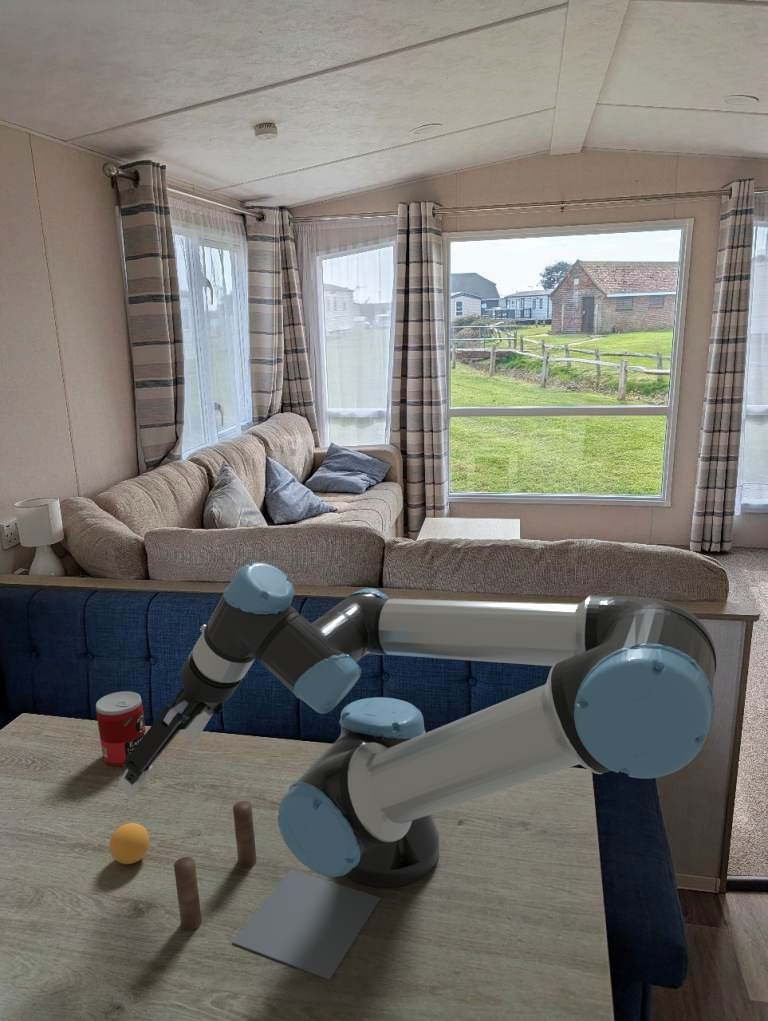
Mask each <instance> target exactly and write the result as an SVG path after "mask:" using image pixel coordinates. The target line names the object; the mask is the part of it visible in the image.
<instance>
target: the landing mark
mask: <svg viewBox="0 0 768 1021" xmlns="http://www.w3.org/2000/svg"><path fill="white" fill-rule="evenodd" d="M380 900H381V896H378V895H377V896H376V895H374V894H370V893H368V892H364V891H362V890H357V889H355V888H351V887H348V886H345V885H342V884H339V883H335V882H333V881H329V880H325V879H323V878H319V877H318V876H317V877H316V876H314V875H310V874H308V873H304V872H301V871H297V870H296V869H295V870H294V869H290V870H289V872H288V873H287V874H286V875H285V876H284V877H283V879H282V880H281V881H280V882H279V884H278V885H277V886H276V887H275V888H274V889H273V891H272V892H271V893H270V895H269V896H268V898H266V900H265V901H264V902H263V903H262V905H261V906H260V907H259V908H258V910H256V912H255V913H254V915H253V916H252V917H251V918H250V919H249V920H248V922H247V923H246V924H245V925H244V927H243V928H242V929H241V930H240V932H239V933H238V934H237V936H236V937H235V938H234V939H233V941H232V942H231V943H232V944H233V945H235V946H238V947H241V948H244V949H247V950H248V951H249V950H250V951H252V952H254V953H257V954H259V955H262V956H264V957H268V958H270V959H273V960H275V961H278V962H281V963H283V964H286V965H288V966H291V967H294V968H296V969H299V970H302V971H304V972H307V973H310V974H312V975H315V976H317V977H321V978H323V979H326V980H329V981H330V980H331V979H332V978H333V976H334V974H335V973H336V971H337V969H338V968H339V966H340V964H341V963H342V961H343V959H344V958H345V956H346V955H347V953H348V951H349V949H350V948H351V946H352V944H353V943H354V942H355V940H356V939H357V937H358V936H359V934H360V932H361V930H362V929H363V927H364V925H365V924H366V922H367V921H368V919H369V917H370V916H371V914H372V913H373V911H374V909H375V908H376V906H377V904H378V903H379V902H380Z"/></svg>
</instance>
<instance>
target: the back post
mask: <svg viewBox="0 0 768 1021" xmlns="http://www.w3.org/2000/svg"><path fill="white" fill-rule="evenodd" d="M232 806H233V807H232V811H233V823H234V831H235V833H234V834H235V842H236V843H235V844H236V851H237V852H236V853H237V862H238V865H239V866H240V867H243V868H247V867H251V866H253V865H255V864H256V862H257V851H256V850H257V849H256V840H255V830H254V829H255V828H254V819H253V807H252V803H251V802H250V801H247V800H241V801H238V802H236V803H235V804H234V805H232Z"/></svg>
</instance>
